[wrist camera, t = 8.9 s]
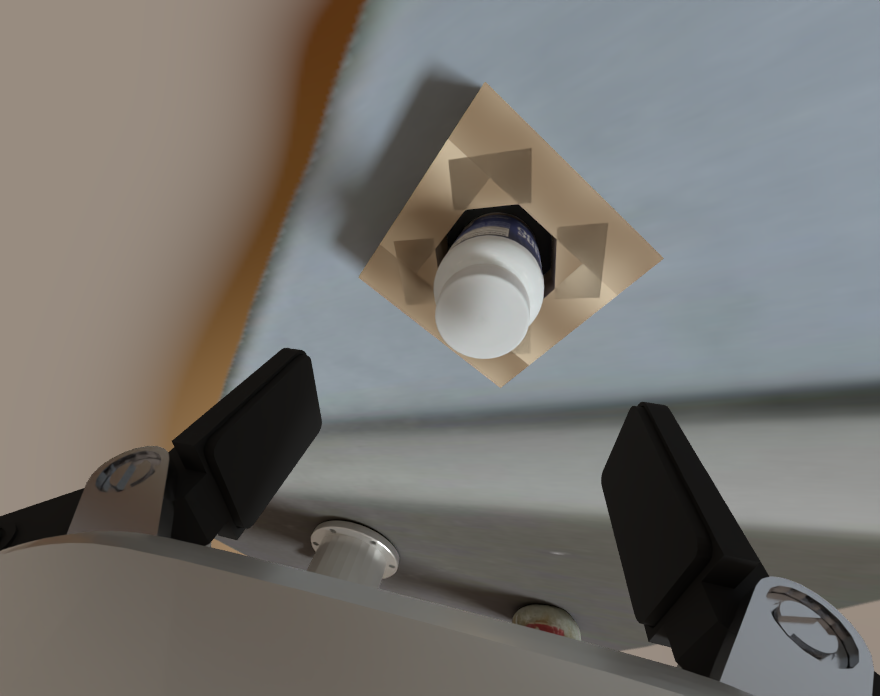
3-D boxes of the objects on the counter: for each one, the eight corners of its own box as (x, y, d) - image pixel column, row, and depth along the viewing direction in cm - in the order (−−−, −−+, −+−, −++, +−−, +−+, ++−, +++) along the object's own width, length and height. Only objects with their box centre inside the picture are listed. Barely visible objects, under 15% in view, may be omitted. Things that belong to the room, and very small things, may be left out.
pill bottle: (543, 284, 23) (555, 366, 14) (466, 298, 24) (437, 378, 16) (532, 200, 20) (539, 241, 12) (447, 221, 22) (402, 271, 14)
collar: (503, 360, 26) (500, 387, 23) (378, 260, 24) (358, 277, 21) (643, 240, 20) (663, 258, 17) (491, 91, 18) (485, 81, 15)
